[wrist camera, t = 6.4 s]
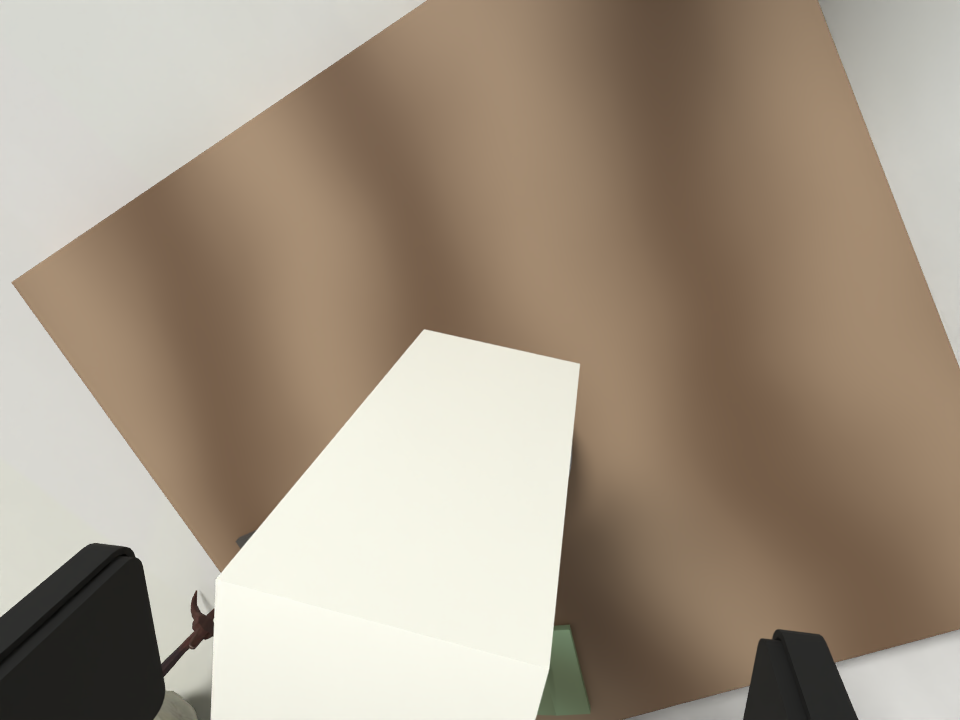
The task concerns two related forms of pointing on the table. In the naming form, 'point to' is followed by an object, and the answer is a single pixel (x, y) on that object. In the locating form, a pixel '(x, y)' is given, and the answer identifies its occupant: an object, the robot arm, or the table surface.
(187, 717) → the decorative bird
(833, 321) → the brown wooden flat slab
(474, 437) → the stand
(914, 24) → the table surface
